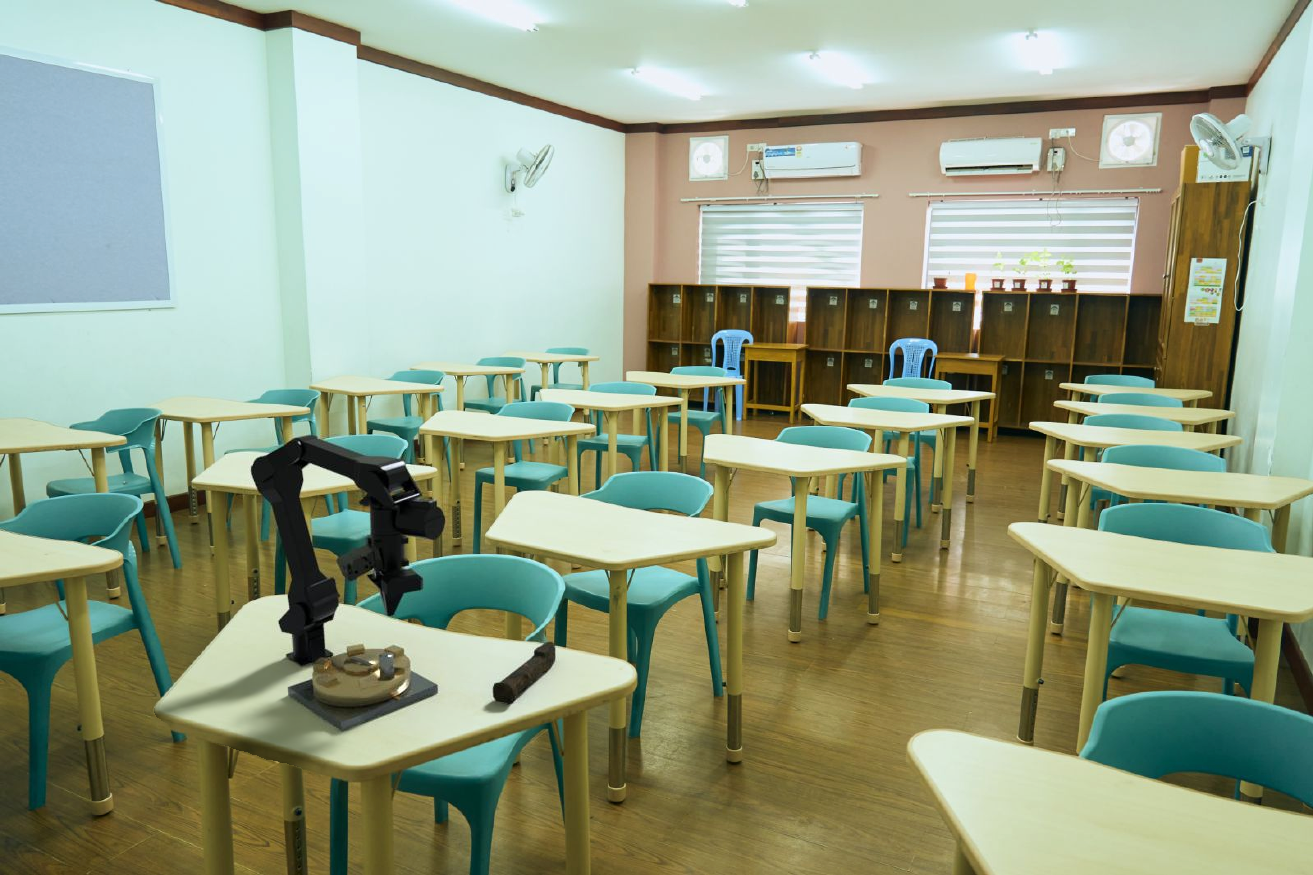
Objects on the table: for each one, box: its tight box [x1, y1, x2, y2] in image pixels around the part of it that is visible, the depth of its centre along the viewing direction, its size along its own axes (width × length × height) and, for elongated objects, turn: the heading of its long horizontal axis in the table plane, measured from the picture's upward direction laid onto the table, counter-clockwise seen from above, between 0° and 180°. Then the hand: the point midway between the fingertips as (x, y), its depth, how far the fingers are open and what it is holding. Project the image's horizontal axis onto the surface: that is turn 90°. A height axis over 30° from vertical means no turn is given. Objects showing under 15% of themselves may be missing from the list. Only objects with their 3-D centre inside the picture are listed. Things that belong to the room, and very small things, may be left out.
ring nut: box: [311, 643, 412, 707], centre depth 152 cm, size 16×16×7 cm
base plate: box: [287, 670, 439, 732], centre depth 153 cm, size 18×18×2 cm
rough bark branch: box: [492, 641, 557, 705], centre depth 158 cm, size 19×4×5 cm, turn 156°
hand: (390, 615), depth 158 cm, fingers closed
